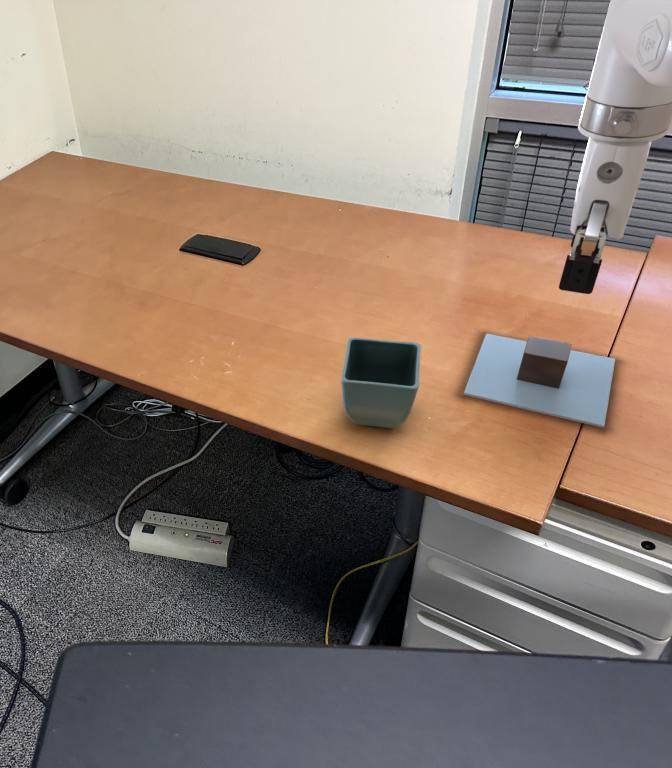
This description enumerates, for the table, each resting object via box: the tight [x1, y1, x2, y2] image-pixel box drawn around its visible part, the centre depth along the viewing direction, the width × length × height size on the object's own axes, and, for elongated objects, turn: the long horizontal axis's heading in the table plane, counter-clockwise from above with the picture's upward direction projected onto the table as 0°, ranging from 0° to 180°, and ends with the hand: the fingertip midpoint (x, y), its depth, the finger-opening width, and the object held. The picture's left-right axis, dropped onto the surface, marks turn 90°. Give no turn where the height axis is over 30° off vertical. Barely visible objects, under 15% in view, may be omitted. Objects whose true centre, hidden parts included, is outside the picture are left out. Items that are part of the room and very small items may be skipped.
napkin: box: [463, 333, 616, 429], centre depth 90 cm, size 16×14×1 cm
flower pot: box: [340, 337, 422, 429], centre depth 86 cm, size 9×9×9 cm
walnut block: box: [517, 335, 573, 389], centre depth 89 cm, size 5×4×4 cm
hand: (580, 268), depth 77 cm, fingers open, 9 cm apart
